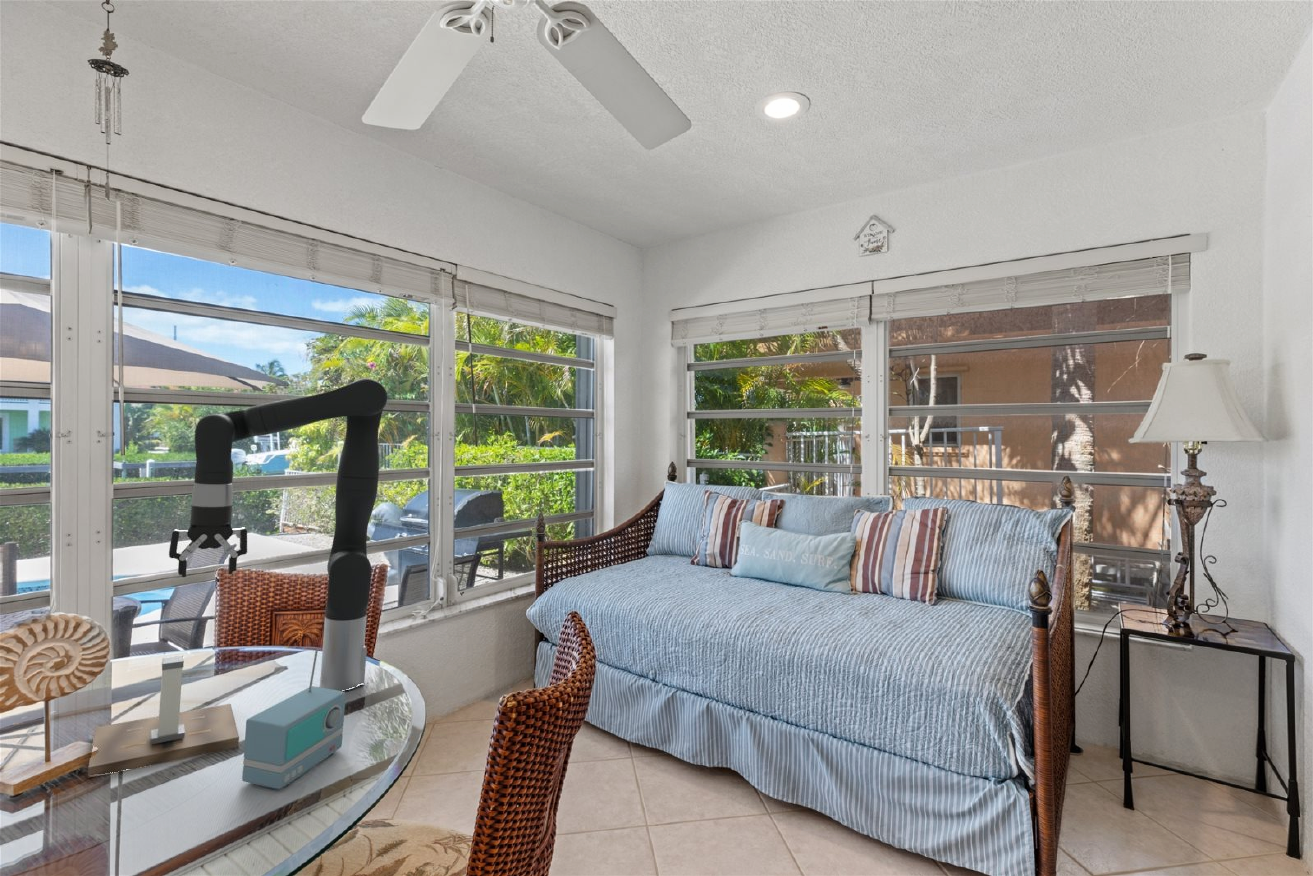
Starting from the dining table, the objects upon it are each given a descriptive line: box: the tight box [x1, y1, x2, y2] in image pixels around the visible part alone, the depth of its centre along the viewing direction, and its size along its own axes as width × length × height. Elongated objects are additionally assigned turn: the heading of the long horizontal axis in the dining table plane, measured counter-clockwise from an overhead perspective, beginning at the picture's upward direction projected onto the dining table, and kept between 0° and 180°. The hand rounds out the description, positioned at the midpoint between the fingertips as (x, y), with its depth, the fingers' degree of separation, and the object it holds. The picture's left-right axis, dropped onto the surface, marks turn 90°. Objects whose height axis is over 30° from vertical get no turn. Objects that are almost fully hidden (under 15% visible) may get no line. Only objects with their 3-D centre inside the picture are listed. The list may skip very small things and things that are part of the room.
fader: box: [151, 655, 185, 744], centre depth 121 cm, size 5×4×15 cm
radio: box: [241, 648, 346, 790], centre depth 118 cm, size 16×9×20 cm, turn 168°
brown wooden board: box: [87, 703, 240, 777], centre depth 124 cm, size 22×17×2 cm
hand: (207, 575), depth 142 cm, fingers open, 8 cm apart
